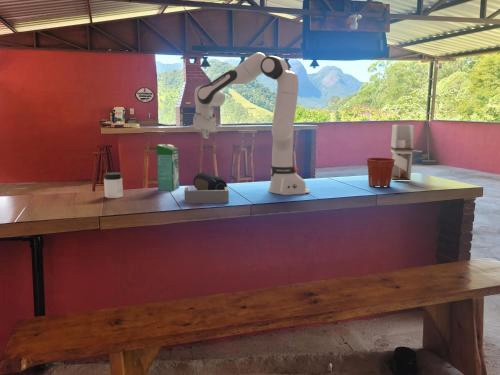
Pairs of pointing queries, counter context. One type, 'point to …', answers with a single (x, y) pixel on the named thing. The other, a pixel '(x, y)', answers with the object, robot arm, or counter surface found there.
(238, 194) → the counter surface
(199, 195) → the tray
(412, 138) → the white two-tier box
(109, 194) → the jar
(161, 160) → the milk carton
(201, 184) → the portable speaker
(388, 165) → the flower pot
